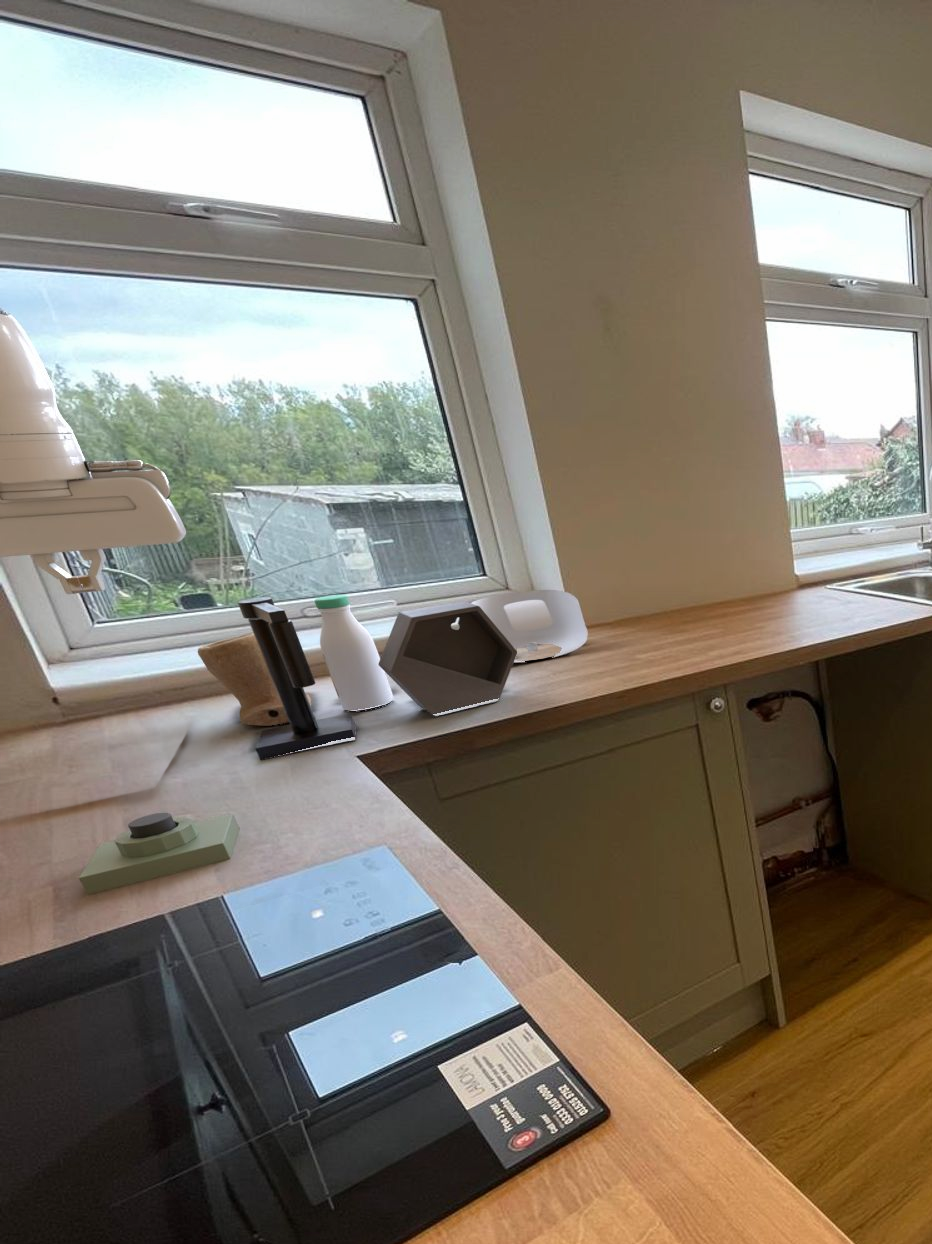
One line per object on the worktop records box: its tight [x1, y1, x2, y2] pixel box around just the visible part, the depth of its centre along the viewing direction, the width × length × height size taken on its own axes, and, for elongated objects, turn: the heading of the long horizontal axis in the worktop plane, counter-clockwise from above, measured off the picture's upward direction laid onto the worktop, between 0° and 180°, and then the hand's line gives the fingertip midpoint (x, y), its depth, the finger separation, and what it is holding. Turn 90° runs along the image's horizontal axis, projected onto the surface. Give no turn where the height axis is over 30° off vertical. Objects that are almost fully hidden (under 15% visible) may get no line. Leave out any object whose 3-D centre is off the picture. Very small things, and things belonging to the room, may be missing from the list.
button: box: [127, 812, 177, 839], centre depth 94 cm, size 4×4×2 cm
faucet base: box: [247, 618, 356, 761], centre depth 128 cm, size 12×10×20 cm
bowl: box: [471, 589, 589, 663], centre depth 177 cm, size 20×19×12 cm
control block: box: [78, 813, 240, 895], centre depth 95 cm, size 12×10×4 cm
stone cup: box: [197, 632, 312, 727], centre depth 141 cm, size 15×12×15 cm
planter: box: [378, 600, 517, 716], centre depth 143 cm, size 17×8×21 cm
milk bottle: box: [314, 594, 394, 711], centre depth 144 cm, size 8×8×20 cm
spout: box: [237, 596, 316, 689], centre depth 122 cm, size 15×4×12 cm, turn 51°
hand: (86, 592), depth 92 cm, fingers closed
